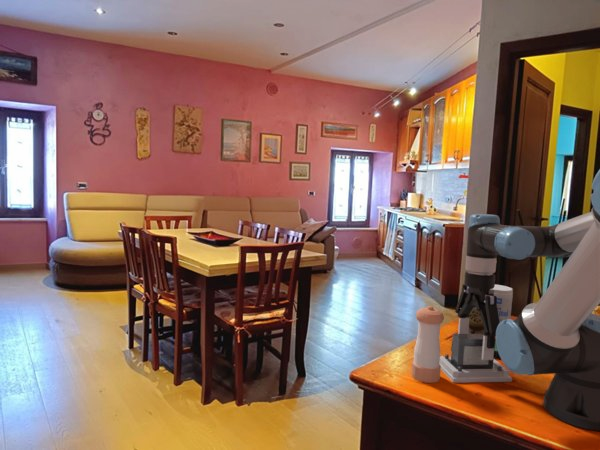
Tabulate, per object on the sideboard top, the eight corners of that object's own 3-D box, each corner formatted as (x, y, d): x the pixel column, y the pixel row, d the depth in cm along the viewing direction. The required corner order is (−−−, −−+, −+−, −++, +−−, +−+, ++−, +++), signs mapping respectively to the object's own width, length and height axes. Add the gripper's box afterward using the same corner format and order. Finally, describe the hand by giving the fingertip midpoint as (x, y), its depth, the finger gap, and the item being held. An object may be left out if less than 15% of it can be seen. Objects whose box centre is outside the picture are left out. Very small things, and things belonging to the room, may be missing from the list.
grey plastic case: (492, 371, 122) (495, 339, 121) (457, 371, 121) (459, 339, 120) (485, 365, 126) (487, 333, 125) (450, 365, 125) (453, 333, 124)
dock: (511, 381, 119) (512, 370, 118) (453, 382, 117) (454, 370, 116) (487, 362, 130) (488, 351, 130) (434, 363, 129) (435, 352, 128)
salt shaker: (410, 369, 124) (415, 301, 122) (438, 372, 123) (443, 303, 120) (412, 381, 117) (417, 308, 115) (441, 384, 115) (447, 311, 113)
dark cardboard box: (460, 337, 151) (464, 289, 149) (461, 331, 157) (465, 285, 155) (489, 341, 147) (494, 293, 145) (489, 335, 153) (494, 289, 151)
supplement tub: (488, 331, 157) (491, 290, 155) (475, 322, 166) (478, 283, 165) (514, 332, 158) (518, 290, 156) (500, 323, 167) (504, 284, 166)
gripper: (521, 283, 108) (513, 368, 111) (470, 263, 133) (465, 333, 135) (491, 282, 108) (484, 368, 110) (446, 263, 132) (441, 333, 134)
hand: (474, 349), depth 122 cm, fingers open, 13 cm apart
